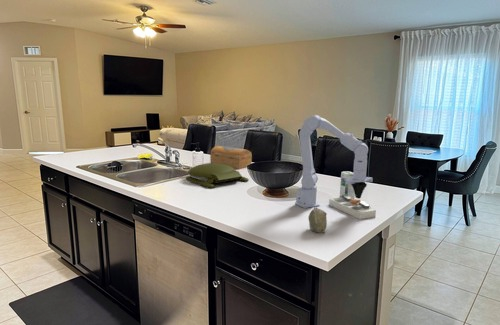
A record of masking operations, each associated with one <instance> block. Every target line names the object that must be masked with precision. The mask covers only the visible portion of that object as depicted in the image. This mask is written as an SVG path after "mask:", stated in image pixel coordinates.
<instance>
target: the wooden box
mask: <svg viewBox="0 0 500 325" xmlns="http://www.w3.org/2000/svg"><path fill="white" fill-rule="evenodd" d="M209 156H210V157H209V158H210V160H209V161H210V163H217V164H224V165H228V166H231V167H233V168H234V169H235V170H242V169H246V166H247V165H249V164H251V163H252V164H253V162H252V160H253V155H252V151H250V150H248V149H244V148H238V147H229V146H222V145H218V146H214V147H213V148H211V150H210V154H209Z"/></svg>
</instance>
